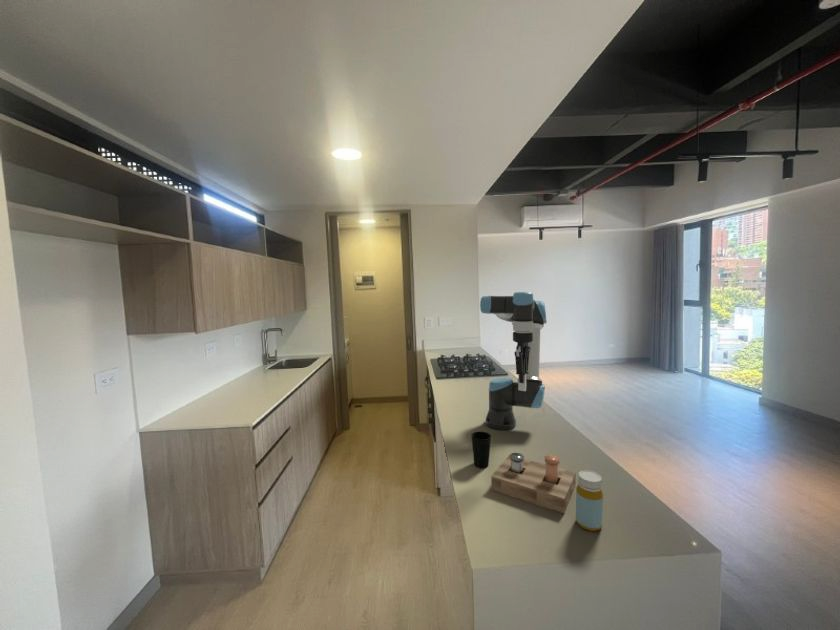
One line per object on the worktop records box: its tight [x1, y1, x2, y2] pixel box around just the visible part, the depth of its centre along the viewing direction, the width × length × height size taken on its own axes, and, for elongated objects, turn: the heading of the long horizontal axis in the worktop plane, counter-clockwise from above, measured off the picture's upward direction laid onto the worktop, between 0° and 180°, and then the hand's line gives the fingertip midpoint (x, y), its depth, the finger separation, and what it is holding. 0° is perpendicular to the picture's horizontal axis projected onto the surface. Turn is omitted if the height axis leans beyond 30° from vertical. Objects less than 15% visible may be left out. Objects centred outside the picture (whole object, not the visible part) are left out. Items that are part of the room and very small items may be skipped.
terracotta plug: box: [544, 454, 561, 485], centre depth 119 cm, size 5×5×9 cm
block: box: [490, 454, 577, 515], centre depth 123 cm, size 18×24×5 cm
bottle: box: [575, 470, 604, 532], centre depth 103 cm, size 7×7×15 cm
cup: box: [470, 431, 492, 469], centre depth 139 cm, size 8×8×12 cm
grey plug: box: [509, 452, 525, 475], centre depth 126 cm, size 5×5×9 cm
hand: (522, 390), depth 140 cm, fingers closed
